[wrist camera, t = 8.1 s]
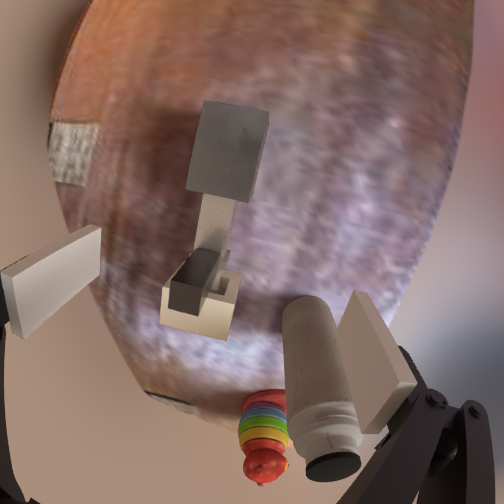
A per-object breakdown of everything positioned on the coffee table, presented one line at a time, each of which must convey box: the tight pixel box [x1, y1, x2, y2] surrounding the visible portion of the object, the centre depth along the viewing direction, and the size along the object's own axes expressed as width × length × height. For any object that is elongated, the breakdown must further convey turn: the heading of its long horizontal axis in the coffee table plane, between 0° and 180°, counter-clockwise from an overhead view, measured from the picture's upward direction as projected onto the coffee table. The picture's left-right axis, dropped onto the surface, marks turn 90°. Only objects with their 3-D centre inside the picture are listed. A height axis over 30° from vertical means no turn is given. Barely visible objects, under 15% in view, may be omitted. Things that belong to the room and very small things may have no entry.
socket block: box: [159, 260, 242, 341], centre depth 40 cm, size 6×9×10 cm, turn 78°
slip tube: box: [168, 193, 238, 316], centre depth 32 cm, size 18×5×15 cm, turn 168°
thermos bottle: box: [282, 296, 364, 482], centre depth 32 cm, size 8×8×28 cm
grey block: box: [185, 100, 269, 203], centre depth 34 cm, size 10×7×10 cm
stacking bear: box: [238, 390, 289, 486], centre depth 44 cm, size 11×10×18 cm
